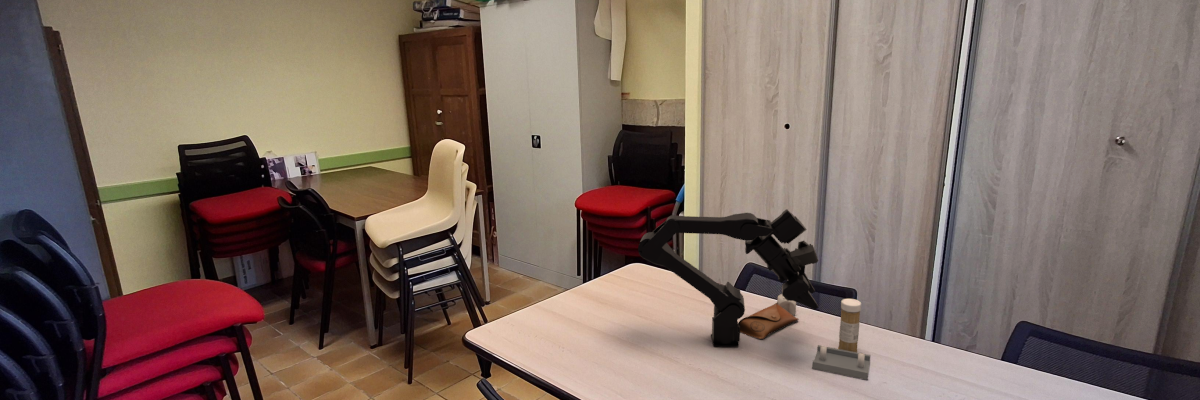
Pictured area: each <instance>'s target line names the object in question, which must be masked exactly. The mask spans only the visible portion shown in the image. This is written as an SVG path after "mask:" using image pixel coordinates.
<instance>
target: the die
mask: <svg viewBox="0 0 1200 400" xmlns="http://www.w3.org/2000/svg"><path fill="white" fill-rule="evenodd" d="M776 299H777V301H776V303H777V304H778V305H779V306H781V307H782V308H783V309H785V310H786V311H787V312H789V313H790V314H791V315H793V316H795V315H796V314H797V302H795V301H790V300H789V301H787V300H786V299H785V297H784V296H783V295H782V293H780V294H779V295H778V296H777V298H776Z"/></svg>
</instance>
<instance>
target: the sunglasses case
mask: <svg viewBox="0 0 1200 400" xmlns="http://www.w3.org/2000/svg"><path fill="white" fill-rule="evenodd" d="M796 321H799V318H798V317H796V316H795V315H791V314H790V313H789V312H787V311H786V310H785V309H783V308H782V307H781V306H779V305H778V304H777V302H775V303H774V304H772V305H770V306H767V307H765V308H763V309H761V310H758V311H756V312H754V313H753V314H750V315H748V316H745V317H743V318H742V319H740V320H739V321H738V324H739V326H740V334H743V335H745V334H746V335H745V336H748V337H751V338H755V339H759V340H764V339H765V338H767V337H769V336H770V335H771V334H774V333H775V332H777V331H779V330H781V329H783V328H786V327H787V326H790V325H791V324H793V323H796Z"/></svg>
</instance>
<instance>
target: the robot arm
mask: <svg viewBox="0 0 1200 400" xmlns="http://www.w3.org/2000/svg"><path fill="white" fill-rule="evenodd" d="M806 231H807V228H806V226H805V225H804V224H803V222H802V221H801V220H800V219H799V218H798V217H797V216H795V215H794V214H793V213H792V212H791V211H789V209H785V210H784V211H782V212H781V213H780V215H779V216H777V217H776V218H775V219H774V220H772V221H771V220H769V219H764V218H759V217H757V216H756V215H755V214H753V213H751V212H743V213H735V214H731V215H727V216H720V217H718V216H690V215H689V216H687V215H682V216H681V215H676V214H671V215H669V216H668V217H667V218H666V220H665V221H663V222H662V223H661V224H660V225H658V226H657V227H656V228H655V229H654V230H652V231H649V232H646V233H644V235H643V236H642V237H641V239H640V241H639V243H638V247H637V251H638V255H639V256H640V257H641V258H642V259H644V260H645V261H648V262H650V263H652V264H654V265H658V266H661V267H663V268H666V269H668V270H669V271H670V272H671V273H673V274H675V275H676V276H677V277H679V278H680V279H682V280H683V281H684V282H686V283H687V284H689V285H690V286H691V287H693V288H694V289H696V290H697V291H698V292H700V293H701V294H703V295H704V296H705V297H707V298H708V299H709V301H711V303H712V304H713V317H712V319H711V334H710V338H711V341H712V346H713V347H714V348H715V347H716V348H719V347H720V348H738V347H739V346H740V345H739V342H740V340H741V339H740V337H741V332H740V326H739V324H738V323H739V321H738V320H739V319H740V320H741V318H742V317H744V314H745V311H746V309H745V298H744V295H743V294H742V293H741V289H740V288H737V287H735V286H734V285H733V284H732V283H731V282H729V281H727V282H726V284H721V283H719V282H716V281H715V280H713V279H712V278H710V277H709V276H708V275H706V274H705V273H704V272H702V271H701V270H700V269H698V268H697V267H695V266H694V265H693V264H691V263H690V262H688V261H687V260H686V259H684V258H683V257H681V256H680V255H679V254H677V253H676V252H675V251H674V250H673V249H672V247H671V246H670V245H669V244H668V242H669V241H670V239H672V237H674V235H676V234H701V235H703V234H705V235H722V236H726V237H729V238H732V239H736V240H741V241H744V244H745V247H744V252H745V255H748V254H750V253H751V252H752V251H754V252H755V253H756V255H758V256H759V258H760V259H761V260H762V261H763V262H764V263H765V264H766V265H767V269H768V270H769V272H770V271H772V272H773V273H774V274H775V276H777V279H778V281H779V282H780V283H782V284H781V294H782V295H783V296H784V297H785V299H786V300H787V301H789V300H790V301H795V302H796V303H798V304H800V305H803V306H805V307H808V308H811V309H813V310H817V309H819V305H818V303H817V302H816V300H815V298H814V297H813V296H812V294H814V293H815V292H816V290H815V288H814V287H813V285H812V283H811V281H810V280H809V278H808V275H807V274H806V266H808V265H811V264H813V265H814V264H817V263H818V262H819V258H818V255H817V252H816V250H815V246H814V245H813V244H811V243H810V244H809V243H808V242H806V241H805V240H801V241H798V243H797V248H794V250H789V249H788V248H786V247H783V246H782V245H781V244H784V245H785V244H788V245H790V243H792V242H793V241H794V240H795V239H796V238H798V237H799V236H801V235H803V233H804V232H806ZM775 238H776V239H777V240H776V239H775ZM780 243H781V244H780ZM784 281H785V282H784Z"/></svg>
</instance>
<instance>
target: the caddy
mask: <svg viewBox="0 0 1200 400" xmlns="http://www.w3.org/2000/svg"><path fill="white" fill-rule="evenodd" d="M816 349H817V350H816V354H815V356H814V359H813V360H812V364H811V369H812V370H815V371H816V370H817V371H822V372H826V373H832V374H837V375H841V376H846V377H852V378H856V379H861V380H864V381H868V379H869V378H868V377H869V370H870V363H871V354H866V353H862V352H858V351H857V352H852V351H846V350H841V349H838V348H835V347H830V346H825V345H819V344H818V345H817V348H816Z"/></svg>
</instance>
